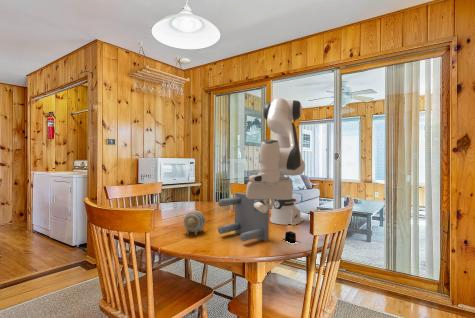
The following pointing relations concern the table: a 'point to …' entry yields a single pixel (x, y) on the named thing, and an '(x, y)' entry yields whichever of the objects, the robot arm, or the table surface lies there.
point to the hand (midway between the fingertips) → (269, 209)
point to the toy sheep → (194, 222)
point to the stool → (246, 218)
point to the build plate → (289, 236)
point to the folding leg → (260, 206)
